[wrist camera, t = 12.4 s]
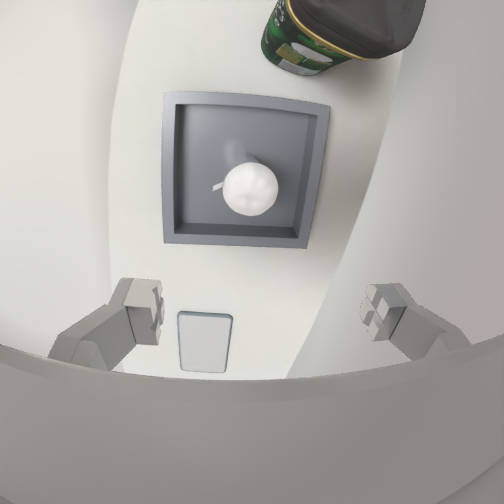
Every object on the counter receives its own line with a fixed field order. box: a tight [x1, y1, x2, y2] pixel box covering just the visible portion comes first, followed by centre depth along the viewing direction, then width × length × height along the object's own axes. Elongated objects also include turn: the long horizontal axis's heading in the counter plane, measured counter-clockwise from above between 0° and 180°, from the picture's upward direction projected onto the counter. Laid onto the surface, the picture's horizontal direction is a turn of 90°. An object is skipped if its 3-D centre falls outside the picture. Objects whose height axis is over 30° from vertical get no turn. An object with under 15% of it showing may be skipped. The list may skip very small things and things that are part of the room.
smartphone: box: [177, 311, 232, 373], centre depth 44 cm, size 8×1×15 cm
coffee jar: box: [261, 0, 426, 75], centre depth 15 cm, size 10×8×19 cm
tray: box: [161, 92, 331, 249], centre depth 28 cm, size 16×16×4 cm
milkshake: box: [212, 154, 278, 216], centre depth 25 cm, size 4×5×10 cm
